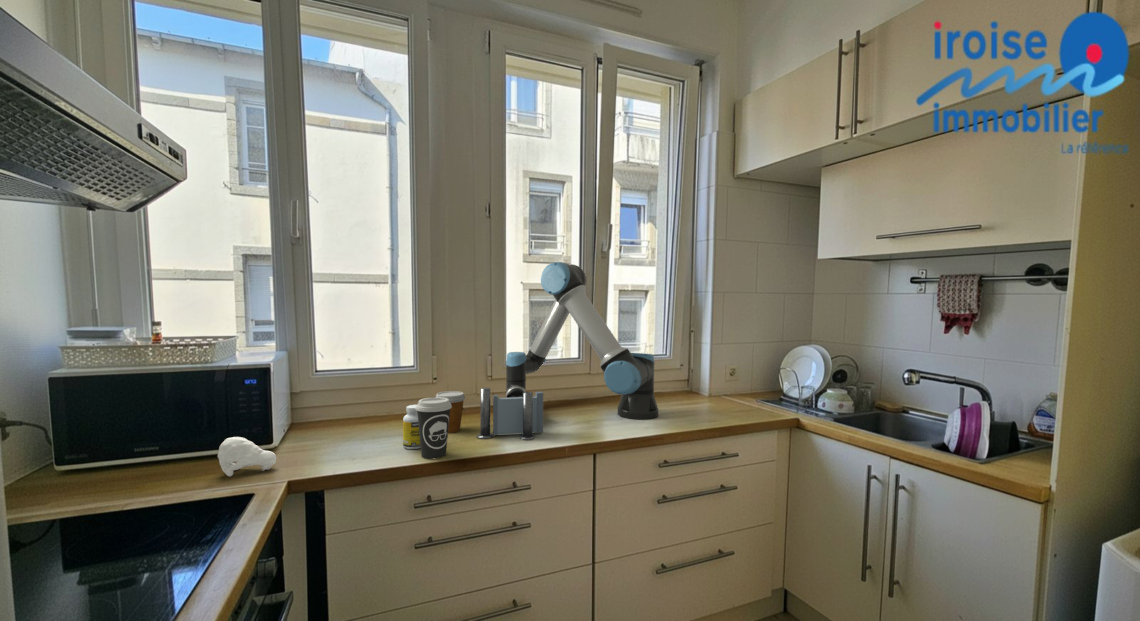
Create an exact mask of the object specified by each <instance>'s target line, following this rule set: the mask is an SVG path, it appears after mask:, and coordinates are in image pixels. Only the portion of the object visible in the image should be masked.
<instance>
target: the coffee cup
mask: <svg viewBox="0 0 1140 621" xmlns="http://www.w3.org/2000/svg"><path fill="white" fill-rule="evenodd" d="M415 405H416V408H415V409H416V410H417V413H418V423H419V435H420V446H421V448H420V455H421V458H423V459H426V458H427V459H426V460H434V459H433V458H436V459H440V457H441V458H443V457H445V456H446V455H447V447H448V436H449V433H448V426H449V415H450V409H451V408H452V405H451V403H450V402H449V399H447V398H442V397H436V396H434V397H425V398H421V399H419V400H418V402H417V404H415ZM442 456H443V457H442Z"/></svg>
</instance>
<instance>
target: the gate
mask: <svg viewBox="0 0 1140 621" xmlns="http://www.w3.org/2000/svg"><path fill="white" fill-rule="evenodd" d="M492 400H493V401H492V422H493V424H492V430H493V431H492V433H493V434H494V436H500V435H513V434H514V435H517V434H523V397H512V398H506V397H499V396H498V394H493V398H492ZM543 432H544V392H543V391H535V395H534V396H533V433H543Z"/></svg>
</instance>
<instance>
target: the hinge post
mask: <svg viewBox="0 0 1140 621" xmlns="http://www.w3.org/2000/svg"><path fill="white" fill-rule="evenodd" d="M479 412H480V415H479V416H480V417H479V418H480V431H479V432H480V433H477V434H476V438H478V439H479V438H480V439H479V440H488V439H487V438H490V439H493V438H494V437H495V435H494V434H493V432H492V433H491V387H481V388H480V411H479ZM492 437H493V438H492Z"/></svg>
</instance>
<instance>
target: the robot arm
mask: <svg viewBox="0 0 1140 621" xmlns="http://www.w3.org/2000/svg"><path fill="white" fill-rule="evenodd" d="M540 285H541V287H542V288H543V290H544V292H545V293H547V294H549V295H552V296H553V298H554V301H553V303H552V305H551V307H550V309H549V311H548V313H547V314H546V316H545V319H544V321H543V322H542V325H541V327H540V328H539V330H538V333H537V334H536V336H535V338H534V340H533V343H532V344H531V346H530V348H529V349H528V352H527V353H525V352H523V351H510V352H508V353H507V354H506V362H505V367H506V368H505V370H506V374H505V375H506V381H505V382H506V385H505V387H506V389H505V398H512V397H523V392H527V386H526V385H527V375H529V374H533V373H536V372H535V371H537V370H538V369H539V367H540V366H541V365H542V364H543V362H545V361H546V362H547V357H548V354H549V353H550V351H551V349H552V347H553V345H554V343H555V342H556V339H557V337H558V335H559V333H560V332H561V329H562V328H563V326H564V324H565V322H566V321H567V319H568V317H569V314H570V316H571V317H572V318H573V320H574V321H575V323H576V325H577V327H579V329H580V331H581V333H582V334H583V336H585V338H586V340H587V342H589V345H590V346H591V347H592V349H593V350H594V352H595V353H596V355H597V356H598V358H599V359H600V364H599V365H600V366H599V367H600V369H601V370H602V373H603V374H604V377H603V379H604V383H605V385H606V387H607V388H608V389H609V390H610V391H611V392H613V393H614V394H617V395H621V396H620V399H619V403H618V406H617V412H616V413H617V415H618V416H620V417H621V418H626V419H630V420H651V419H655V418H657V417H659V407H658V405H657V401H656V400H657V399H656V397H655V391H654V390H655V357H654V355H653V354H651V353H643V352H642V353H640V352H631V351H630V350H629V348H628V347H623V346H621V344H620V343H619V341H618V339H617V338H616V337H615V335H614V334H613V333H612V331H611V329H610V328H609V326H608V325H607V324H606V322H605V321H604V319H603V318H602V317H601V315H600V313H599V311H597V309H596V307H595V306H594V304H593V303H592V302H591V300H590V298H589V297H588V295H587V294H586V293H585V292H586V285H587V276H586V273H585V271H584V269H582V268H581V267H580V266H579V265H576V264H569V263H565V262H562V261H557V262H551V263H549V264H547V265H546V267H544V269H543V270H542V273H541V277H540Z"/></svg>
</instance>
